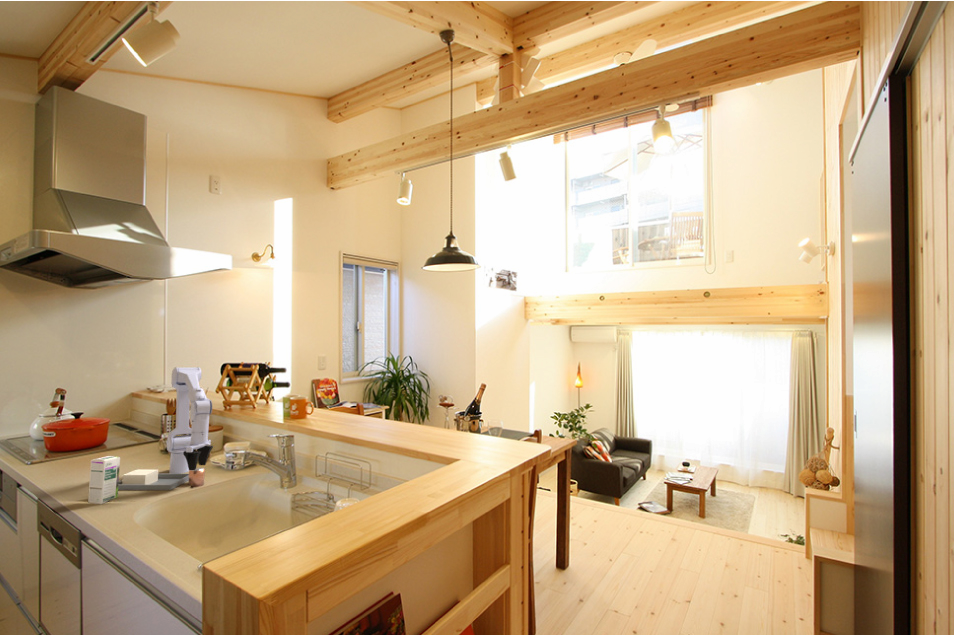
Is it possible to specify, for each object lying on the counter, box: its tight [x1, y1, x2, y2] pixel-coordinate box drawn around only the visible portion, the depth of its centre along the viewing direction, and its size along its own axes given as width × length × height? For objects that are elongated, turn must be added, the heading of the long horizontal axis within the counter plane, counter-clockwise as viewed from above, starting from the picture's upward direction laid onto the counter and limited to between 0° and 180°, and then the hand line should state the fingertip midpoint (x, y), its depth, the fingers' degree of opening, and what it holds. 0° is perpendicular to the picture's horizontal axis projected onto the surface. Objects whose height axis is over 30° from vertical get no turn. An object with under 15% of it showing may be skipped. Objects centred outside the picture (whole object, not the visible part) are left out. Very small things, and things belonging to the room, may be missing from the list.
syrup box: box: [87, 455, 121, 505], centre depth 159 cm, size 6×6×14 cm
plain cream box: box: [121, 469, 159, 485], centre depth 176 cm, size 8×8×4 cm
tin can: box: [187, 467, 206, 488], centre depth 179 cm, size 5×5×6 cm
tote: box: [118, 472, 189, 491], centre depth 177 cm, size 16×21×2 cm
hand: (197, 467), depth 179 cm, fingers open, 7 cm apart
